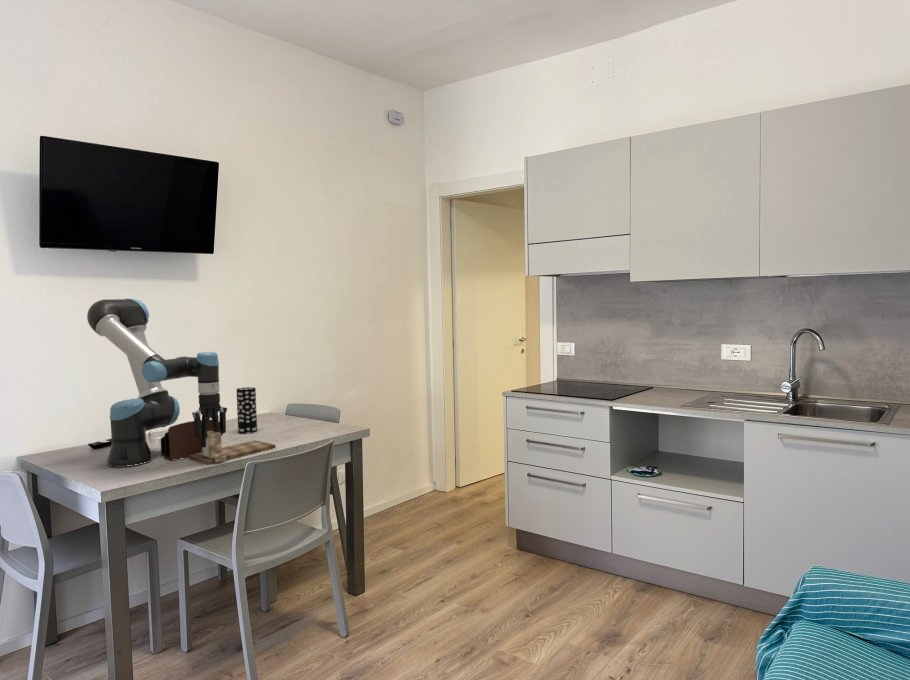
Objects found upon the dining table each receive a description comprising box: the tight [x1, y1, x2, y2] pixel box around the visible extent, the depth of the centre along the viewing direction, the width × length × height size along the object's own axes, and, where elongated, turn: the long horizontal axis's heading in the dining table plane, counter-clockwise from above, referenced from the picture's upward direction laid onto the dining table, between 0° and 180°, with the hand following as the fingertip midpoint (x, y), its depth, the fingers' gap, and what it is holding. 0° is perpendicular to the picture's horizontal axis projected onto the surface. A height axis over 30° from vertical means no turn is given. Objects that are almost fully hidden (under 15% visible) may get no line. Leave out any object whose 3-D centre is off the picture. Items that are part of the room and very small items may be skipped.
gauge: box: [202, 431, 227, 464], centre depth 247 cm, size 4×15×10 cm, turn 53°
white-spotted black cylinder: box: [236, 386, 258, 435], centre depth 296 cm, size 8×8×20 cm
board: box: [188, 439, 277, 465], centre depth 256 cm, size 30×14×2 cm, turn 143°
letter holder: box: [160, 419, 215, 461], centre depth 256 cm, size 10×20×14 cm, turn 133°
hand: (211, 453), depth 246 cm, fingers closed on gauge, 4 cm apart
